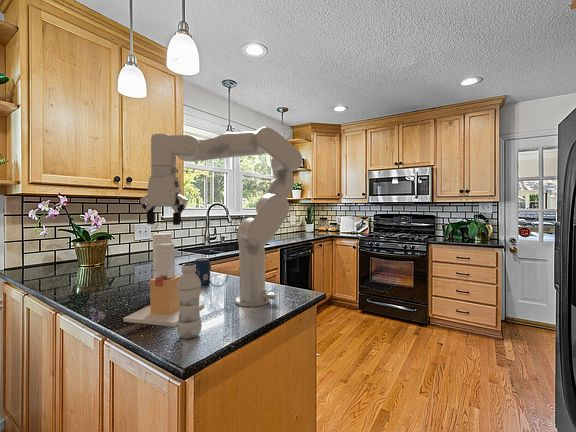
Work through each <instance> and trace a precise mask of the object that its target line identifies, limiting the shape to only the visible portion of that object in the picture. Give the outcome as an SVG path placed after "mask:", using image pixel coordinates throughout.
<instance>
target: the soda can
mask: <svg viewBox="0 0 576 432" xmlns="http://www.w3.org/2000/svg"><path fill="white" fill-rule="evenodd" d="M193 264H195V265H196V271H195V274H196V275H197V276H198V277H199V279H200V281H201V288H206V287H208V286H210V284H211V262H210V259H209V258H208V257H202V258H195V260H194V263H193Z"/></svg>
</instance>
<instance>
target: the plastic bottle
mask: <svg viewBox="0 0 576 432" xmlns="http://www.w3.org/2000/svg"><path fill="white" fill-rule="evenodd" d="M195 271H196V265H195V264H194V263H185V264H182V265H181V273H182V275H180V276H181V277H180V279H179V280H178V283H177V291H178V297H179V321H178V325H177V326H176V330H177V336H178V337H179V338H180V339H183V340H187V339H188V340H191V339H194V338H196V337H198V336H199V335H200V334H201V332H202V327H203V326H202V324H203V323H202V320H201V313H200V310H199V303H200V296H201V290H202V287H201V281H200V279H199V277H198V276H197V275H196V274H195Z"/></svg>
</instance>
